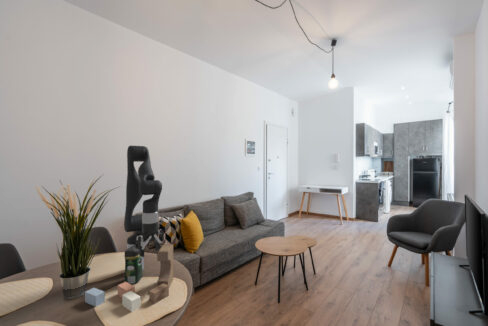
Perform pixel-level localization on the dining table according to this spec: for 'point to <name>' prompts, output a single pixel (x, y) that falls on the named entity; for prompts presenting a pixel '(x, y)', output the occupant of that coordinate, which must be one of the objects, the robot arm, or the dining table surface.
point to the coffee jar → (133, 265)
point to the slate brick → (94, 297)
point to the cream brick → (131, 301)
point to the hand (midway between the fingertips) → (150, 253)
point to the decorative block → (165, 264)
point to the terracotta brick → (125, 288)
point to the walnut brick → (158, 293)
